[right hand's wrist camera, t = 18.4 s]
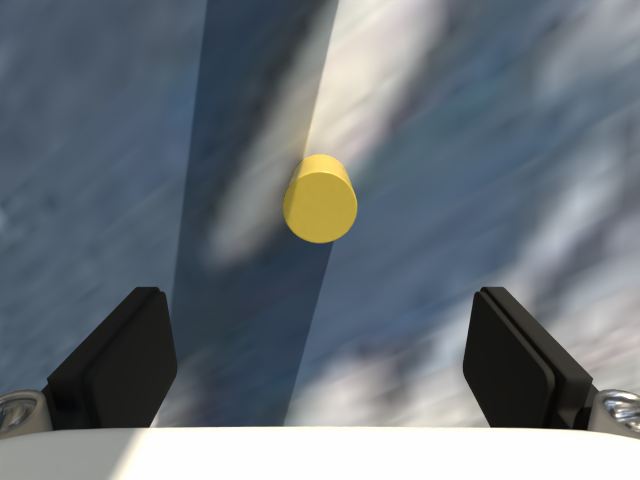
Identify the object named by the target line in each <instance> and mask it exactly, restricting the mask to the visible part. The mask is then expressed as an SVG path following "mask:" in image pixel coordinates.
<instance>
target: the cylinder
mask: <svg viewBox="0 0 640 480" xmlns="http://www.w3.org/2000/svg"><path fill="white" fill-rule="evenodd" d="M356 214H357V200H356V196H355V194H354V191H353V188H352V186H351V183H350V180H349V177H348V175H347V172H346V170H345V168H344V167H343V165H342V164H341V163H340V162H339V161H337V160H336V159H334V158H332V157H330V156H327V155H313V156H310V157H307V158H306V159H304V160H303V161H301V162H300V163H299V164H298V165H297V167H296V168H295V170H294V172H293V175H292V177H291V180H290V183H289V185H288V188H287V191H286V193H285V196H284V200H283V215H284V218H285V221H286V223H287V225H288V226H289V228H290V229H291V230H292V232H293V233H295V234H296V235H297V236H298V237H300V238H302V239H303V240H306V241H309V242H312V243H327V242H331V241H334V240H336V239H338V238H340V237H342V236H343V235H344V234H345V233H347V231H348V230H349V229H350V228H351V226H352V225H353V223H354V221H355V218H356Z"/></svg>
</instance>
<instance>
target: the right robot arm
mask: <svg viewBox="0 0 640 480" xmlns="http://www.w3.org/2000/svg"><path fill="white" fill-rule="evenodd" d="M176 373H177V360H176V354H175V348H174V342H173V336H172V330H171V323H170V317H169V311H168V305H167V299H166V294H165V293H164V292H160V290H159V288H158V287H136V288H135V289H134V290H133V291H132V292H131V293H130V294H129V295H128V296H127V297H126V298H125V299H124V300H123V301H122V302H121V303H120V304H119V305H118V306H117V307H116V308H115V309H114V310H113V311H112V312H111V314H110V315H109V316H108V317H107V318H106V319H105V320H104V321H103V322H102V323H101V324H100V325H99V326H98V327H97V328H96V329H95V330H94V331H93V332H92V333H91V334H90V335H89V336H88V337H87V338H86V339H85V340H84V341H83V342H82V343H81V344H80V345H79V346H78V347H77V348H76V349H75V350H74V351H73V352H72V353H71V354H70V355H69V356H68V358H67V359H66V360H65V361H64V362H63V363H62V364H61V365H60V366H59V367H58V368H57V369H56V370H55V371H54V372H53V373H52V374H51V375H50V376H49V377H48V378H47V381H48V384H47V385H46V387H45V388H44V389H43V390H42V391H41V392H40V391H38V390H31V389H25V390H18V391H14V392H10V393H7V394H4V395H1V396H0V480H640V396H639V395H636V394H633V393H630V392H626V391H622V390H615V389H609V390H602V391H600V392H599V391H598V390H597V389H596V388H595V387H594V385H593V384H592V380H593V378H592V377H591V376H590V375H589V374H588V373H587V372H586V371H585V370H584V369H583V368H582V367H581V366H580V365H579V364H578V363H577V362H576V361H575V360H574V359H573V358H572V356H571V355H570V354H569V353H568V352H567V351H566V350H565V349H564V348H563V347H562V346H561V345H560V344H559V343H558V342H557V341H556V340H555V339H554V338H553V337H552V336H551V335H550V334H549V333H548V332H547V331H546V330H545V329H544V328H543V327H542V326H541V325H540V324H539V323H538V322H537V321H536V320H535V319H534V318H533V317H532V316H531V315H530V314H529V312H528V311H527V310H526V309H525V308H524V307H523V306H522V305H521V304H520V303H519V302H518V301H517V300H516V299H515V298H514V297H513V296H512V295H511V294H510V293H509V292H508V291H507V290H506V289H505V288H504V287H482V288H481V290H480V292H476V293H475V294H474V299H473V305H472V311H471V317H470V323H469V330H468V336H467V342H466V348H465V354H464V360H463V373H464V377H465V379H466V381H467V383H468V385H469V387H470V389H471V390H472V392H473V394H474V396H475V398H476V400H477V402H478V404H479V406H480V408H481V410H482V412H483V414H484V415H485V417H486V419H487V421H488V423H489V425H490V427H491V428H450V427H191V428H149V427H150V425H151V423H152V421H153V419H154V417H155V415H156V414H157V412H158V410H159V408H160V406H161V404H162V402H163V400H164V398H165V396H166V394H167V392H168V390H169V389H170V387H171V385H172V383H173V381H174V379H175V377H176Z"/></svg>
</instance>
